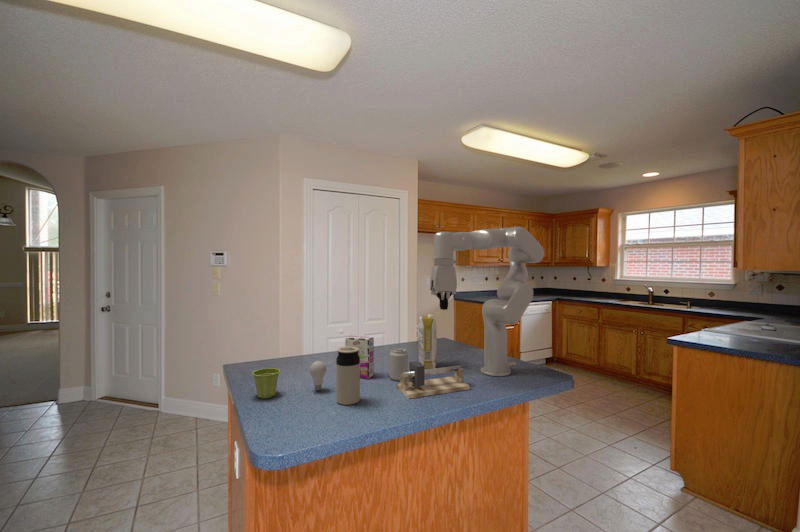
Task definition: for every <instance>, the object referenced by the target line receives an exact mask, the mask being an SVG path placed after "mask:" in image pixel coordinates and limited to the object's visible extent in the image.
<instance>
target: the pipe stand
mask: <svg viewBox="0 0 800 532" xmlns="http://www.w3.org/2000/svg"><path fill="white" fill-rule="evenodd" d="M464 371H465V369H464V368H462V369H459V370H458V371H454V375H453V376H452V375H451V376H445V377H438V378H431V379H429V378H428V379H425V385H423V386H416V385H415V384H413V383H412V382H411V381H409V376H404V375H402V374H401V381H400V382H399V383H395V388H396V389H397V390H398V391H399V392H400V393H401V394H402V395H404V396H405V398H407V399H408V400H409V399H410V398H411V399H415V398H422V397H423V396H424V397H430V396H437V395H442V394H443V395H444V394H449V393H455V392H462V391H468V390H470V389H471V385H470V384H468V383H466V382H465V379H464V378H465V377H464V375H465V372H464ZM436 394H437V395H436ZM429 395H430V396H429ZM424 397H423V398H424Z"/></svg>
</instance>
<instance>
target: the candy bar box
mask: <svg viewBox="0 0 800 532" xmlns="http://www.w3.org/2000/svg"><path fill="white" fill-rule="evenodd" d="M374 341H375V340H374V337H372V336H371V337H370V336H361V335H360V336H357V335H349V336H346V337H345V347H357V348H359V351H358V355H359V357H360V379H366V380H370V379H371V378H373V377H374V375H375V371H374V370H375V365H374V364H375V363H374V361H375V360H374V359H375V357H374V354H375V353H374V350H375V349H374V346H375V345H374V343H375V342H374Z"/></svg>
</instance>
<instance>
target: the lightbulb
mask: <svg viewBox="0 0 800 532" xmlns="http://www.w3.org/2000/svg"><path fill="white" fill-rule="evenodd" d="M309 373H310V376H311V377H312V380H313V385H314V390H315V391H317V392H319V391H320V390H322V388H323V387H322V386H323V380H324V376H325V375H326V373H327V365H326V364H325V362H323V361H321V360H316V361H313V362H312V363H311V365H310V367H309Z"/></svg>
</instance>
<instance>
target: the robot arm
mask: <svg viewBox="0 0 800 532" xmlns="http://www.w3.org/2000/svg"><path fill="white" fill-rule="evenodd" d="M504 248H509V249H508V251H507V252H508V253H507V258H508V262H509V270H508V273H507V274H506V276H505V277H504V278H503V281H502V282H501V283H500V284H499V286H498V289H497V291H496V295H497V299H496V298H491V299H488V300H486V301H485V302H484V303H483V304H482V306H481V307H482V308H481V314H482V320H483V325H484V327H483V328H484V330H483V332H484V335H483V336H484V337H483V339H484V340H483V341H484V342H483V343H484V344H483V345H484V347H483V350H484V351H483V352H484V353H483V355H484V359H483V360H484V361H483V365H484V366H482V367H480V372H481V373H482V374H484V375H487V376H491V377H507V376H510V375H511V373H512V372H511V371H512V370H511V369H510V368H511V367H512V368H514V367H516V366H517V363H516V362H515V361H508V330H507V327H506V324H507V325H515V324H516V323H518V322H519V321H520V320H521V318H522V316H523V315H524V313H525V312H526V310H527V309H528V307H529V305H531V302H532V300H533V298H534V289H533V286H532V285H531V283H529V282H527V280H528V277H529V272H528V270H527V266H526V264H537V263H540V262H541V261H542V260H543V258H544V256H545V250H544V248H543V246H542V244H540V242H539V241H538V240H537V239H536V238H535V237H534V236H533V235H532V234H531V233H530V232H529V231H528V230H527V229H526V228H524V227H523V226H514V227H513V226H512V227H502V228H487V229H479V230H472V231H467V232H466V231H457V232H450V231H438V232H436V233H434V236H433V252H434V253H433V254H434V255H433V260H434V261H433V262H434V263H433V265H434V266H432V267H431V271H430V272H431V273H430V277H429V279H430V280H429V281H430V282H429V290H430V291H431V292H430V294H431V295H432V296H436V297H437V299H438V300H439V308H440V310H442V311H445V310H446V311H447V310H448V309H449V308H448V307H449V300H450V298H451V297H452V296H453V295H456V294H457V286H458V283H457V282H458V280H457V279H458V278H457V272H456V267H455V266H454V265H455V264H456V262H457V261H456V260H455V259H454V252H461V251H467V250H478V251H479V250H492V249H493V250H494V249H504Z"/></svg>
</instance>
